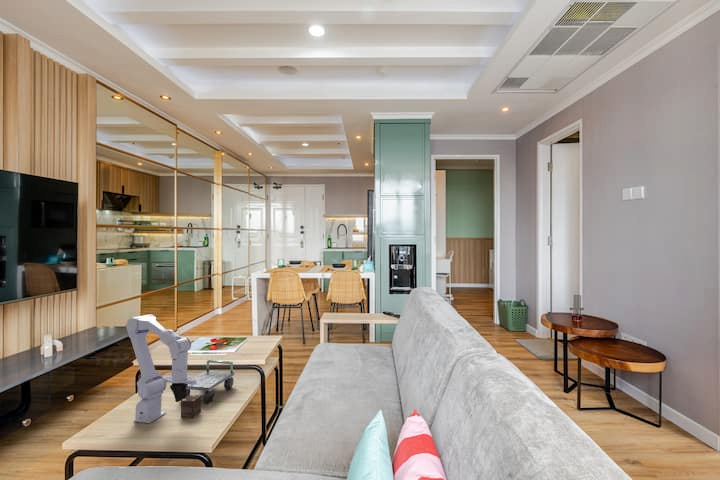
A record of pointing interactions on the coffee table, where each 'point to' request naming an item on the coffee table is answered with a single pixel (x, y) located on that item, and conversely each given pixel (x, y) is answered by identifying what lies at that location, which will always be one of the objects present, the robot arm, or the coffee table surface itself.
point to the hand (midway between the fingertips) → (178, 400)
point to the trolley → (211, 381)
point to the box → (190, 406)
